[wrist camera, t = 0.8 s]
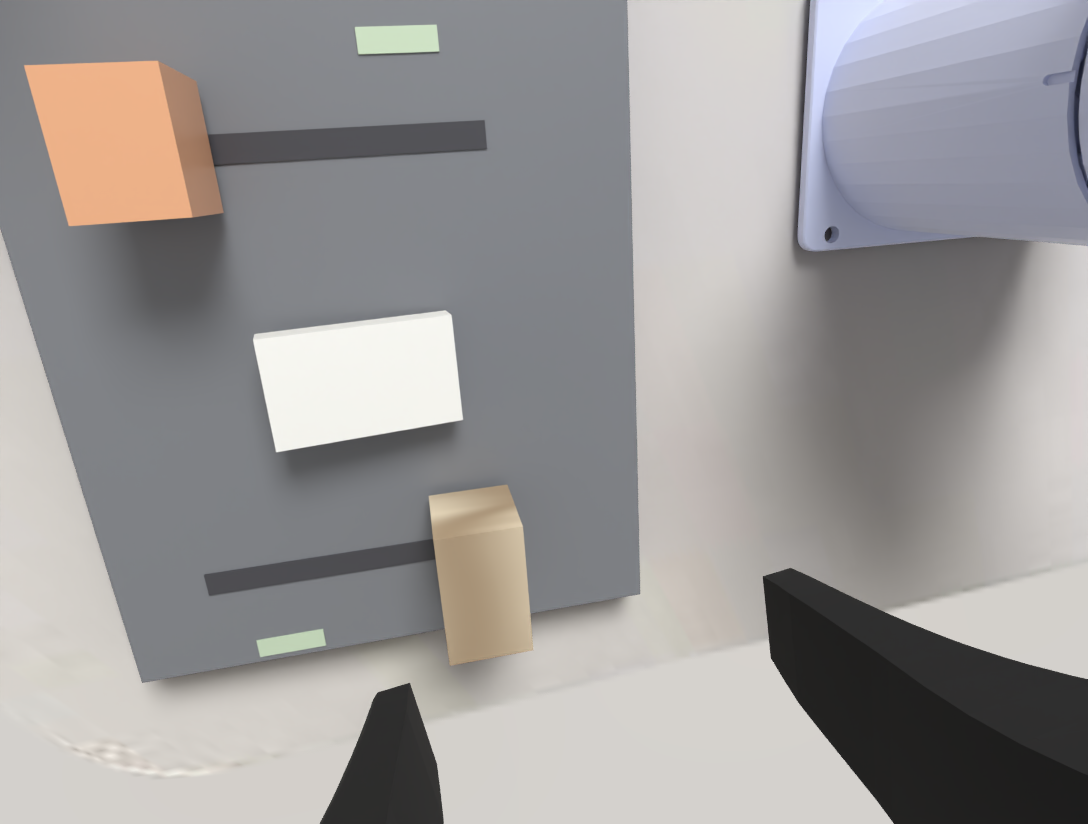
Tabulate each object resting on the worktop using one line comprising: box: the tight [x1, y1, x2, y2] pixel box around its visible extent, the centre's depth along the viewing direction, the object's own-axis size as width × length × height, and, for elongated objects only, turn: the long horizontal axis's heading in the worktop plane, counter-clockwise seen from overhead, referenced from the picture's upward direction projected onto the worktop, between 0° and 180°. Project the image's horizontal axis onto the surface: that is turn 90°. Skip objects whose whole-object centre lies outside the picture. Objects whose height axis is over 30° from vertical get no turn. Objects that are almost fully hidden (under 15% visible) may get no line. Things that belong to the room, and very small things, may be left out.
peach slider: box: [24, 61, 224, 226], centre depth 15 cm, size 2×3×3 cm
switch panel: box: [0, 0, 640, 683], centre depth 20 cm, size 16×19×2 cm
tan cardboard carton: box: [429, 485, 533, 666], centre depth 20 cm, size 2×4×3 cm, turn 4°
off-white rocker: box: [253, 310, 463, 452], centre depth 18 cm, size 5×3×1 cm, turn 94°
